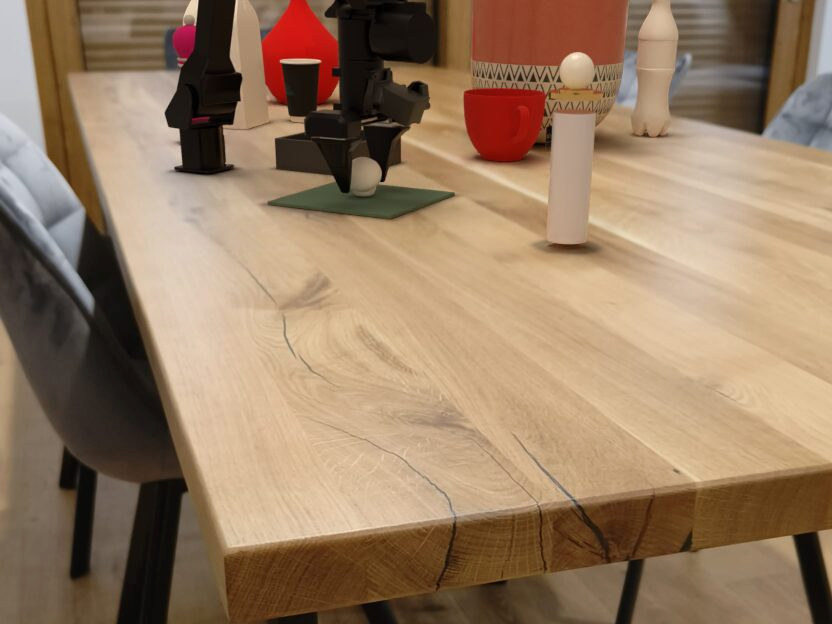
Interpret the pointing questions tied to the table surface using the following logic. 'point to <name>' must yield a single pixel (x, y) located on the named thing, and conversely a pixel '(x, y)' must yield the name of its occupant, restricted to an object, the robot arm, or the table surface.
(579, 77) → the perfume bottle
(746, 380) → the table surface
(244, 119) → the milk
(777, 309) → the table surface
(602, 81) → the planter
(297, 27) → the vase
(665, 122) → the water bottle
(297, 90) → the dixie cup
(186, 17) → the pepper mill
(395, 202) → the placemat
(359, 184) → the mushroom
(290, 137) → the black box
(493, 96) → the ceramic cup
